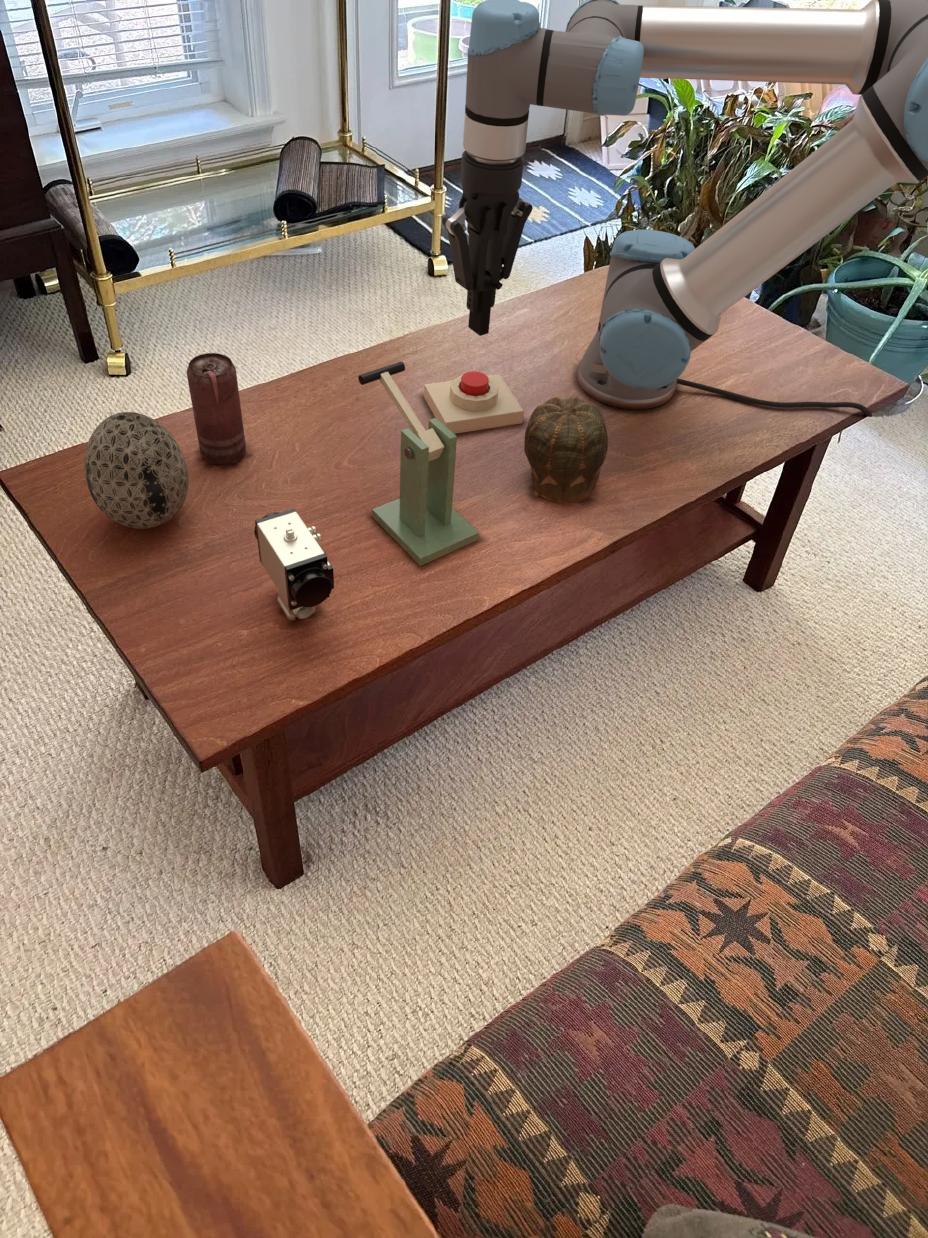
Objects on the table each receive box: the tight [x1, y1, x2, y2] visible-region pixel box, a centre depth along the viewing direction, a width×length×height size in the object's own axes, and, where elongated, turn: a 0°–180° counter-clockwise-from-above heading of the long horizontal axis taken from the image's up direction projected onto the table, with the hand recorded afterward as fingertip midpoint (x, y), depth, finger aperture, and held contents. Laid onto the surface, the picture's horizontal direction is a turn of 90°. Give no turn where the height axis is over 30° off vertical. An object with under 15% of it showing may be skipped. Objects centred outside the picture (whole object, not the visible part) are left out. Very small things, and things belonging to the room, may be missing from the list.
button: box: [461, 370, 489, 396], centre depth 137 cm, size 4×4×2 cm
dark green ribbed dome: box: [523, 395, 609, 504], centre depth 126 cm, size 11×11×12 cm
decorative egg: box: [84, 411, 190, 530], centre depth 114 cm, size 12×12×15 cm
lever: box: [358, 361, 444, 462], centre depth 113 cm, size 13×6×2 cm, turn 36°
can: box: [186, 352, 247, 467], centre depth 125 cm, size 6×6×14 cm
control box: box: [423, 373, 525, 435], centre depth 139 cm, size 12×10×4 cm
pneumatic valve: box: [253, 508, 335, 621], centre depth 107 cm, size 6×12×12 cm, turn 30°
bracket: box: [371, 417, 480, 567], centre depth 116 cm, size 11×9×15 cm
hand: (478, 329), depth 131 cm, fingers closed
